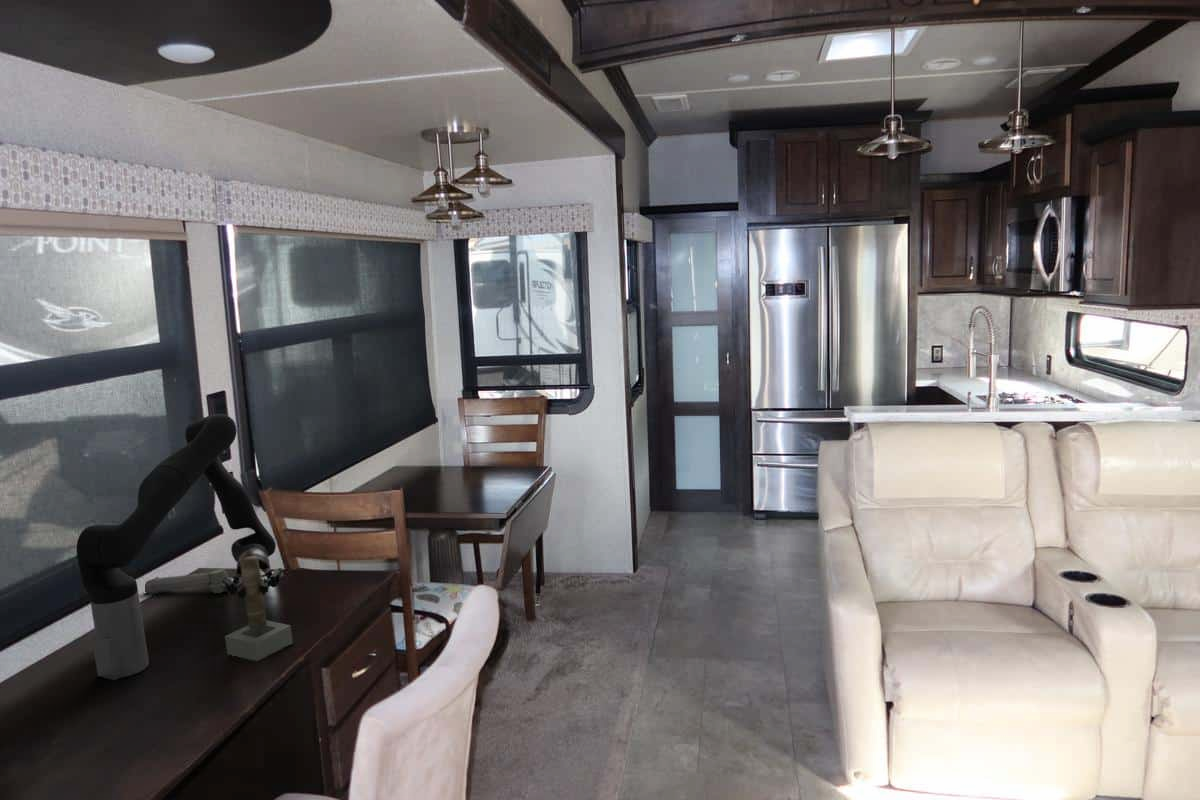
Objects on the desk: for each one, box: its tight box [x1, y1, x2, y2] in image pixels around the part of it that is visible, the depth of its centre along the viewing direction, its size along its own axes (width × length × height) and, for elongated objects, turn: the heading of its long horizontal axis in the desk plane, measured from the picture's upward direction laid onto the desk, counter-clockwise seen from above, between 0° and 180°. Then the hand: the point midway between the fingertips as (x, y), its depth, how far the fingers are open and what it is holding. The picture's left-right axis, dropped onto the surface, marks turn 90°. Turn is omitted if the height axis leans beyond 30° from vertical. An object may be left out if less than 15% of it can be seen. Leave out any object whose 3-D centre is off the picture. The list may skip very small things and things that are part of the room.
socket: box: [224, 619, 294, 661], centre depth 197 cm, size 10×10×4 cm
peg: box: [240, 556, 268, 629], centre depth 195 cm, size 4×4×16 cm
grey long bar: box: [145, 568, 233, 595], centre depth 237 cm, size 5×7×25 cm
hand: (253, 592), depth 193 cm, fingers closed on peg, 3 cm apart
